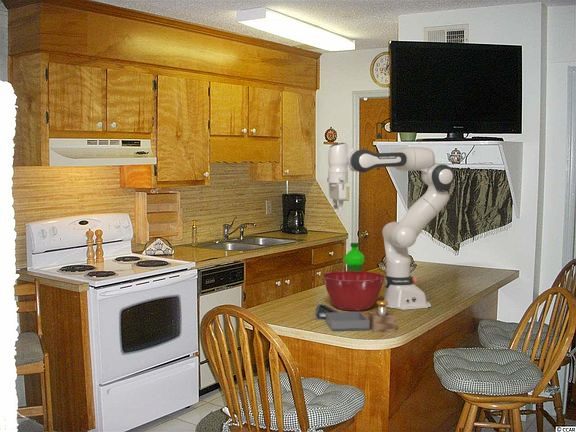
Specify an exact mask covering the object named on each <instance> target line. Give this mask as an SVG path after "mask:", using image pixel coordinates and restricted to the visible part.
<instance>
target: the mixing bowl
mask: <svg viewBox="0 0 576 432" xmlns="http://www.w3.org/2000/svg"><path fill="white" fill-rule="evenodd" d="M322 278H323V282H324V285H325V287H326V291H327V294H328V296H329V298H330V300H331V302H332V304H334V306H336V307H337V308H338V309H339V310H342V311H344V312H363V311H367V310H368V309H370V308H372V307H373V306H374V304H375V303H376V302H377V299H378V297H379V295H380V292H381V290H382V287H383V283H384V281H385V275H384V274H383V273H382V274H381V273H378V272H372V271H364V270H362V271H347V270H340V271H331V272H330V271H329V272H326V273H323V274H322Z"/></svg>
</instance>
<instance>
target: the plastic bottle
mask: <svg viewBox="0 0 576 432" xmlns="http://www.w3.org/2000/svg"><path fill="white" fill-rule="evenodd" d="M359 244H360V243H359V242H351V243H350V248H351V250H349V251H348V252H347V253H346V254H345V256H344V263H345V265H346V271H363V264H364V262H365V255H364V254H363V253H362V252H361V251H360V250H359V246H360V245H359Z"/></svg>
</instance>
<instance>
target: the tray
mask: <svg viewBox="0 0 576 432" xmlns="http://www.w3.org/2000/svg"><path fill="white" fill-rule="evenodd" d="M325 324H327V326H328V327H329V329H330V330H331V331H332V332H355V331H356V332H357V331H358V332H360V331H362V332H363V331H370V320H369V319H368V316H366V315H365V314H364V313H362V311H341V312H340V311H338V312H334V313H326V320H325Z"/></svg>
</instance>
